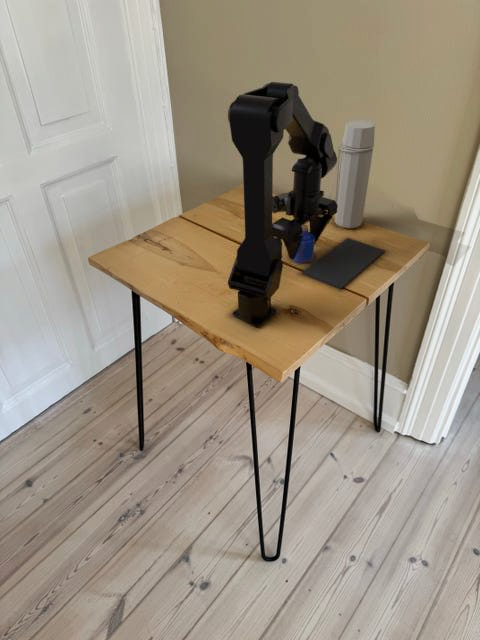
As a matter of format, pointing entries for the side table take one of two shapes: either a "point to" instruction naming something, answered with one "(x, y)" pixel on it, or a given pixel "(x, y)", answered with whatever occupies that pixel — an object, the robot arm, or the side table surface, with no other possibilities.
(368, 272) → the side table surface
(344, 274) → the mat
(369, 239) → the side table surface
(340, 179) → the water bottle
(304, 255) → the flask
